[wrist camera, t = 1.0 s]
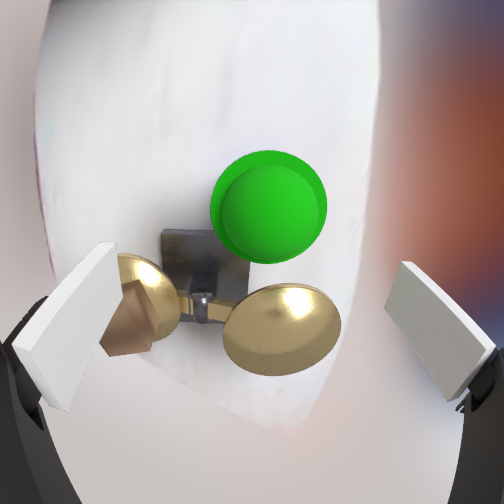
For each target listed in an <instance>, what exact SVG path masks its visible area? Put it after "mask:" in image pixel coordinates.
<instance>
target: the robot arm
mask: <svg viewBox="0 0 504 504" xmlns="http://www.w3.org/2000/svg"><path fill="white" fill-rule="evenodd" d="M122 298H123V294H122V288H121V281H120V274H119V267H118V259H117V251H116V243H109V242H100V243H99V244H98V245H97V246H96V247H95V248H94V249H93V250H92V251H91V252H90V253H89V254H88V255H87V256H86V257H85V258H84V259H83V260H82V261H81V262H80V263H79V264H78V265H77V266H76V267H75V268H74V269H73V270H72V271H71V272H70V274H69V275H68V276H67V277H66V278H65V279H64V280H63V281H62V282H61V283H60V284H59V286H58V287H57V288H56V289H55V290H54V291H53V293H52V294H51V295H50V296H45V297H44V298H42V299H40V300H39V301H38V302H36V303H35V304H34V305H33V306H32V308H31V309H30V310H29V311H28V313H27V314H26V315H25V316H24V317H23V318H22V321H20V322H19V323H18V325H17V326H16V327H15V328H14V330H13V331H12V332H11V334H10V335H9V336H8V338H7V339H6V340H5V342H4V343H3V344H2V343H1V341H0V504H82V503H81V501H80V499H79V497H78V496H77V494H76V492H75V490H74V488H73V486H72V484H71V482H70V480H69V478H68V476H67V474H66V472H65V470H64V467H63V465H62V463H61V461H60V458H59V456H58V454H57V451H56V448H55V446H54V443H53V441H52V438H51V435H50V432H49V429H48V427H47V424H46V420H45V417H44V414H43V411H42V408H41V406H40V404H39V403H38V402H39V400H40V398H41V396H42V397H43V398H44V399H45V401H46V402H47V404H48V405H49V406H50V407H53V408H56V409H58V410H61V411H64V412H68V410H69V408H70V405H71V403H72V400H73V398H74V396H75V393H76V391H77V389H78V386H79V384H80V382H81V379H82V377H83V375H84V373H85V370H86V368H87V366H88V364H89V362H90V360H91V358H92V356H93V353H94V352H95V349H96V347H97V345H98V343H99V341H100V339H101V337H102V335H103V334H104V332H105V330H106V328H107V326H108V324H109V322H110V320H111V318H112V316H113V315H114V313H115V311H116V309H117V307H118V305H119V304H120V302H121V300H122ZM384 308H385V310H386V311H387V312H388V314H389V315H390V316H391V318H392V319H393V321H394V322H395V323H396V325H397V326H398V328H399V329H400V330H401V332H402V333H403V335H404V336H405V338H406V339H407V341H408V342H409V343H410V345H411V346H412V348H413V349H414V351H415V352H416V354H417V355H418V357H419V358H420V360H421V361H422V363H423V364H424V366H425V367H426V369H427V370H428V372H429V373H430V375H431V376H432V378H433V380H434V381H435V383H436V384H437V386H438V388H439V389H440V391H441V392H442V394H443V396H444V397H445V399H446V401H447V402H449V401H452V400H454V399H456V398H459V396H460V395H461V394H462V393H463V392H464V390H465V389H466V388H467V387H468V389H469V390H470V392H469V393H468V394H467V395H466V397H465V398H464V399H463V400H462V401H461V403H460V404H459V405H458V406H457V407H456V410H455V411H458V410H459V409H460V408H461V406H464V408H462V410H461V411H460V412H461V413H464V424H463V433H462V441H461V447H460V453H459V459H458V464H457V469H456V474H455V478H454V482H453V486H452V490H451V493H450V497H449V501H448V504H504V348H501V349H500V350H499V351H498V350H497V349H496V348H495V347H496V345H495V344H494V343H493V342H492V341H491V340H490V339H489V337H488V336H487V335H486V334H485V333H484V332H483V331H482V330H481V329H480V328H479V326H478V325H477V324H476V323H475V322H474V321H473V320H472V319H471V318H470V317H469V316H468V315H467V314H466V313H465V312H464V311H463V310H462V309H461V308H460V307H459V306H458V305H457V304H456V303H455V302H454V301H453V300H452V299H451V298H450V297H449V296H448V295H447V294H446V293H445V292H444V291H443V290H442V289H441V288H440V287H439V286H438V285H437V284H436V283H434V281H432V280H431V279H430V278H429V277H428V276H427V275H426V274H425V273H424V272H423V271H421V270H420V269H419V268H418V267H417V266H416V265H415V264H413V263H412V262H403V261H401V262H400V265H399V268H398V271H397V274H396V277H395V280H394V283H393V285H392V288H391V291H390V294H389V296H388V299H387V301H386V304H385V307H384Z"/></svg>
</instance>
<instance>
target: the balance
mask: <svg viewBox="0 0 504 504" xmlns="http://www.w3.org/2000/svg"><path fill="white" fill-rule="evenodd" d="M161 240H162V257H163V270H162V269H161V268H160V267H159V266H157V265H156V264H154V263H153V262H151V261H149V260H147V259H145V258H143V257H140V256H136V255H132V254H117V259H118V267H119V274H120V281H121V284H124V283H127V282H131V281H134V280H138V279H139V280H140V282H141V283H142V285H143V287H144V289H145V291H146V293H147V295H148V297H149V299H150V301H151V302H152V304H153V306H154V308H155V310H156V312H157V313H158V315H159V317H160V320H159V323H158V326H157V330H156V333H155V336H154V339H153V342H155V341H158V340H161V339H163V338H165V337H167V336H168V335H170V334H171V333H172V332H173V331H174V329H175V328H176V326H177V324H178V322H179V321H185V322H197V323H200V324H205V323H224V329H223V344H224V348H225V351H226V353H227V355H228V356H229V357H230V359H231V360H232V361H233V362H234V363H235V364H236V365H238V366H239V367H241V368H242V369H244V370H246V371H249V372H251V373H254V374H259V375H265V376H283V375H289V374H293V373H297V372H300V371H303V370H305V369H307V368H309V367H311V366H313V365H315V364H316V363H318V362H319V361H320V360H322V359H323V358H324V357H325V356H326V355H327V354H328V353H329V352H330V351H331V350H332V348H333V347H334V345H335V344H336V342H337V340H338V338H339V335H340V331H341V319H340V315H339V312H338V310H337V308H336V306H335V304H334V303H333V301H332V300H331V299H330V298H329V297H328V296H327V295H326V294H325V293H323V292H322V291H320V290H319V289H317V288H314V287H312V286H309V285H304V284H299V283H282V284H275V285H271V286H267V287H264V288H261V289H259V290H256V291H254V292H252V293H250V294H249V295H247V293H248V281H249V270H250V261H247V260H245V259H242V258H240V257H238V256H237V255H235V254H234V253H232V252H231V251H230V250H228V249H227V248H226V247H225V246H224V245H223V243H222V242H221V241H220V239H219V238H218V236H217V234H216V232H215V231H205V230H180V229H164V230H163V232H162V233H161Z"/></svg>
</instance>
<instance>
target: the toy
mask: <svg viewBox="0 0 504 504" xmlns="http://www.w3.org/2000/svg"><path fill="white" fill-rule="evenodd" d="M210 214H211V221H212V224H213V228H214V230H215V232H216V234H217V236H218V238H219V239H220V241H221V242H222V243H223V245H224V246H225V247H226V248H227V249H228V250H230V251H231V252H232V253H234V254H235V255H237V256H238V257H240V258H242V259H245V260H247V261H251V262H254V263H260V264H273V263H279V262H284V261H287V260H289V259H292V258H294V257H296V256H298V255H299V254H301V253H302V252H304V251H305V250H306V249H307V248H309V247H310V246H311V245H312V244H313V242H314V241H315V240H316V238H317V237H318V236H319V234H320V232H321V230H322V228H323V225H324V223H325V219H326V214H327V198H326V193H325V189H324V186H323V184H322V182H321V180H320V178H319V176H318V175H317V174H316V172H315V171H314V170H313V169H312V168H311V167H310V166H309V165H308V164H307V163H305V162H304V161H303V160H301V159H299V158H297V157H296V156H293V155H291V154H288V153H285V152H280V151H274V150H264V151H258V152H253V153H250V154H247V155H245V156H243V157H241V158H239V159H238V160H236V161H234V162H233V163H232V164H231V165H229V166H228V167H227V169H226V170H225V171H224V172H223V173H222V175H221V176H220V177H219V179H218V181H217V183H216V185H215V188H214V191H213V194H212V197H211V204H210Z"/></svg>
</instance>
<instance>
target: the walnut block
mask: <svg viewBox="0 0 504 504" xmlns="http://www.w3.org/2000/svg"><path fill="white" fill-rule="evenodd" d="M121 288H122V294H123V298H122V300H121V302H120V304H119V305H118V307H117V309H116V311H115V313H114V315H113V316H112V318H111V320H110V322H109V324H108V326H107V328H106V330H105V332H104V334H103V335H102V337H101V339H100V341H99V343H100V345H101V346H102V347H103V349H104V350H105V351H106V353H107V354H108V355H109V357H111V356H119V355H126V354H133V353H140V352H146V351H150V349H151V346H152V342H153V339H154V336H155V333H156V330H157V326H158V323H159V320H160V317H159V315H158V313H157V312H156V310H155V308H154V306H153V304H152V302H151V301H150V299H149V297H148V295H147V293H146V291H145V289H144V287H143V285H142V283H141V282H140V280H139V279H138V280H134V281H131V282H127V283H124V284H121Z"/></svg>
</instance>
